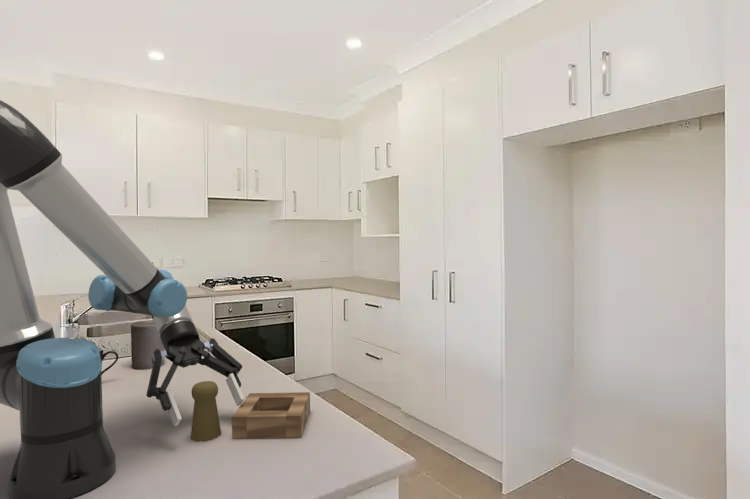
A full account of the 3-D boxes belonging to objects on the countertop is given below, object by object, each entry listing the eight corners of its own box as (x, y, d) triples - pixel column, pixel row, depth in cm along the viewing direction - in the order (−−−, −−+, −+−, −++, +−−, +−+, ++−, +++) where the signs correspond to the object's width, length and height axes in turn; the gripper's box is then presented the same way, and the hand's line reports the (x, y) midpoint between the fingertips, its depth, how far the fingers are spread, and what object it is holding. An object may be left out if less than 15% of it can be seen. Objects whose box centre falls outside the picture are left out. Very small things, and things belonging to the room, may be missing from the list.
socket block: (301, 437, 95) (300, 415, 95) (232, 438, 95) (231, 416, 95) (310, 411, 109) (309, 392, 109) (250, 412, 109) (249, 393, 109)
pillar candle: (124, 368, 146) (123, 321, 146) (146, 360, 156) (145, 315, 155) (151, 370, 144) (149, 322, 143) (171, 362, 154) (170, 316, 153)
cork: (211, 426, 101) (209, 376, 101) (227, 433, 98) (225, 381, 97) (184, 436, 97) (183, 383, 96) (200, 444, 93) (199, 389, 93)
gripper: (222, 329, 117) (257, 403, 108) (112, 350, 99) (142, 441, 89) (232, 311, 113) (269, 386, 104) (120, 328, 95) (153, 422, 85)
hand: (211, 412), depth 96 cm, fingers open, 13 cm apart
